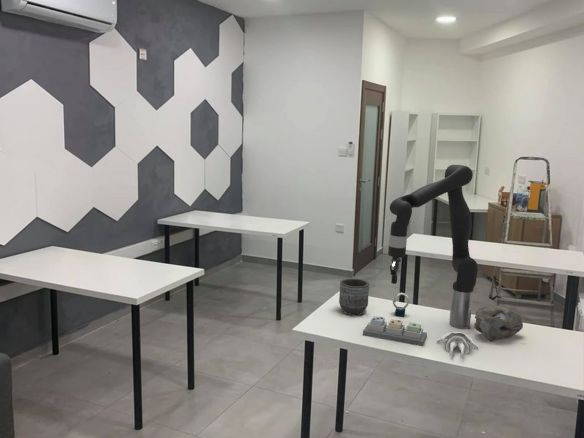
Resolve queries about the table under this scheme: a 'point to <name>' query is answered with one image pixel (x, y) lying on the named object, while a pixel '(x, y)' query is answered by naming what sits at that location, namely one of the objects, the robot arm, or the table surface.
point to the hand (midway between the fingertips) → (394, 283)
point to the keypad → (395, 334)
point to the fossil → (497, 322)
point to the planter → (353, 295)
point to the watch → (400, 310)
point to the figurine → (457, 342)
